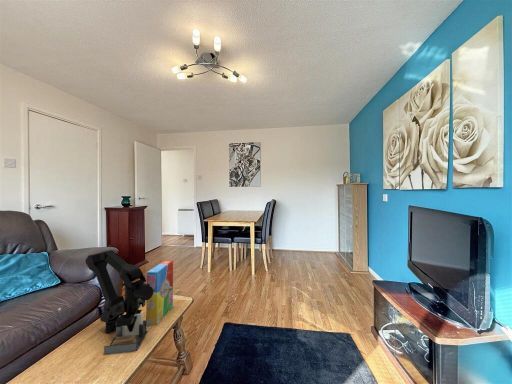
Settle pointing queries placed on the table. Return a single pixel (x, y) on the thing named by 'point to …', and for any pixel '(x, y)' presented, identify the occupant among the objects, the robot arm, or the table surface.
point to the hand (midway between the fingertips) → (131, 330)
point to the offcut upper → (124, 340)
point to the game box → (160, 292)
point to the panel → (136, 327)
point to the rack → (127, 347)
